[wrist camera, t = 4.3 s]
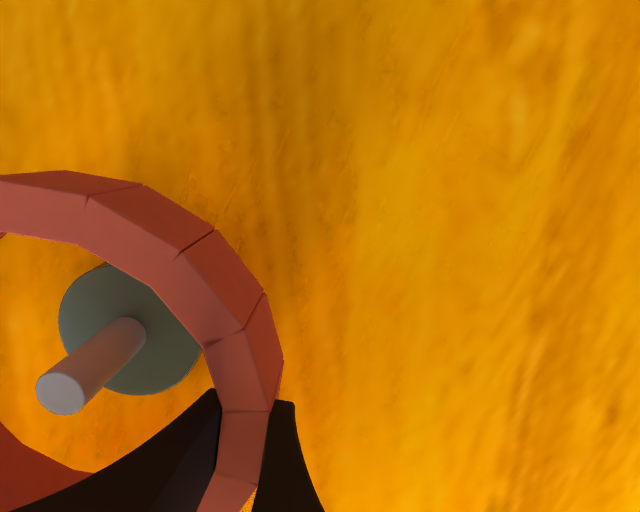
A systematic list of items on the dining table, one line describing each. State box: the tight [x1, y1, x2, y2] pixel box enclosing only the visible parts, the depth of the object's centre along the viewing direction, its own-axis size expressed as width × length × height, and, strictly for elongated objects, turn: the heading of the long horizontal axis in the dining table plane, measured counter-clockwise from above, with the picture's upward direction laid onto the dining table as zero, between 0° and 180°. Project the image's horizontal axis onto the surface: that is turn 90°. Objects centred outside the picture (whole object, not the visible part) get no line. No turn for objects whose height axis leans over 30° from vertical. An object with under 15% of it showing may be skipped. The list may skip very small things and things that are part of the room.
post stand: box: [35, 263, 202, 415], centre depth 15 cm, size 6×6×5 cm
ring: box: [0, 170, 284, 512], centre depth 13 cm, size 13×13×3 cm
